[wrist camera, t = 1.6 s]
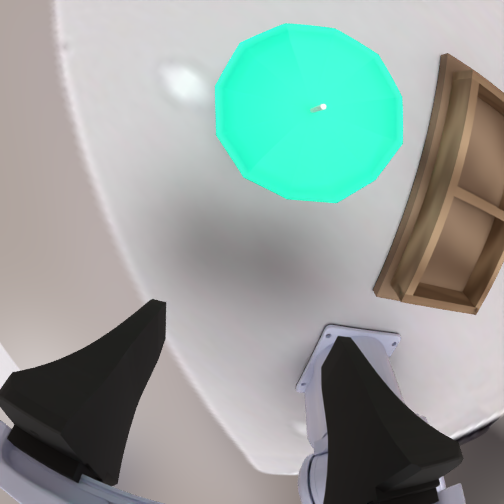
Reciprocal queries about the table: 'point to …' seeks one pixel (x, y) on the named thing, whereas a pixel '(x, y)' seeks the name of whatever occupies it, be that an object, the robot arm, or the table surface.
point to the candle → (308, 112)
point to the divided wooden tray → (453, 200)
